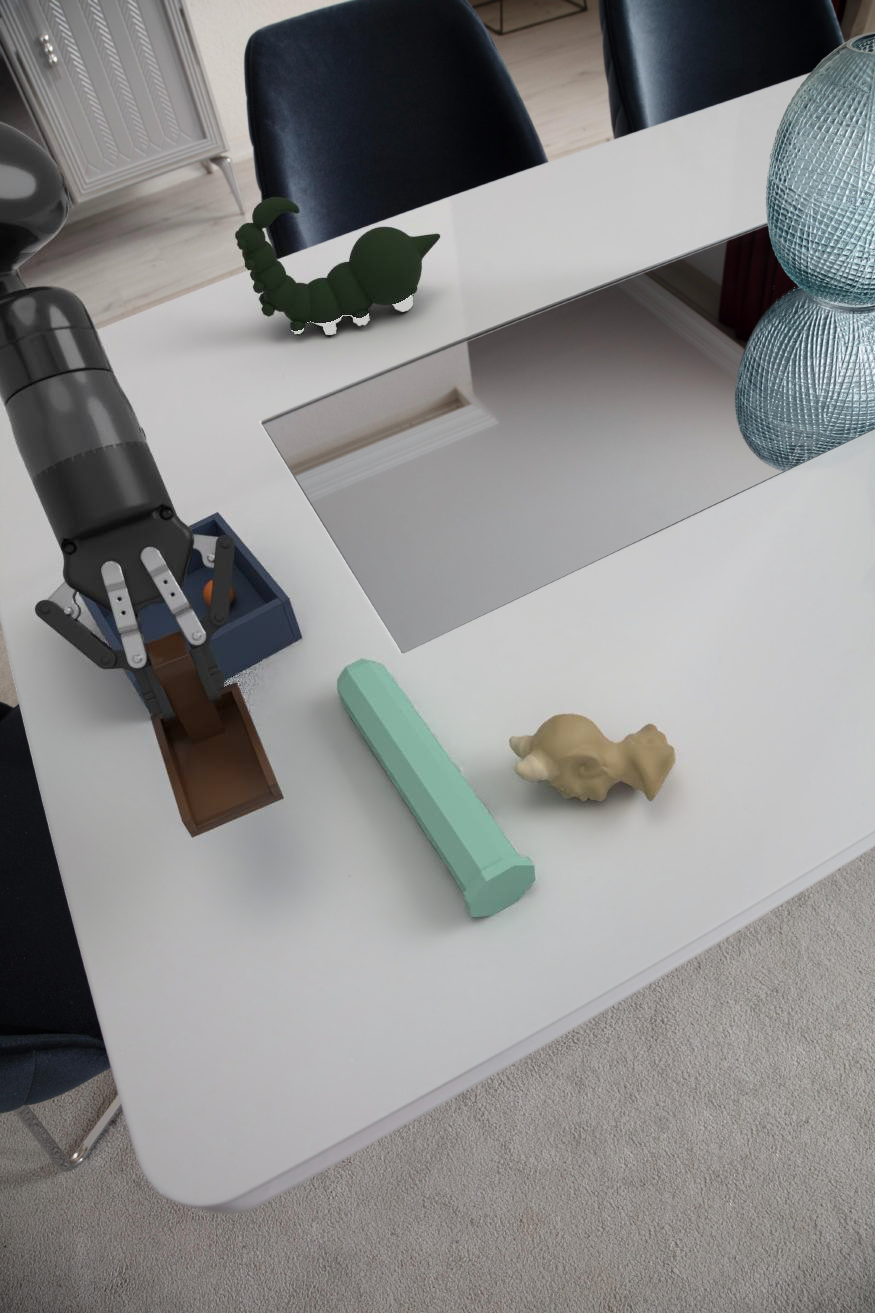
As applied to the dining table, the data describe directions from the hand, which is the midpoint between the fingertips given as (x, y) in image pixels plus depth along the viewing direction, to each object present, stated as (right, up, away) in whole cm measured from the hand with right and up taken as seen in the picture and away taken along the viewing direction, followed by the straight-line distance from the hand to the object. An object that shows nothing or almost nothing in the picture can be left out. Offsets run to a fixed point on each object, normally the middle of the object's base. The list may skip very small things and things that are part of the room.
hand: (193, 708), depth 61 cm
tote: (-8, +6, +30) cm, 32 cm away
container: (+15, -7, +16) cm, 23 cm away
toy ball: (-5, +10, +30) cm, 32 cm away
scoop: (+1, -4, +3) cm, 5 cm away
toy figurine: (+5, +49, +65) cm, 81 cm away
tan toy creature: (+29, -7, +15) cm, 33 cm away
